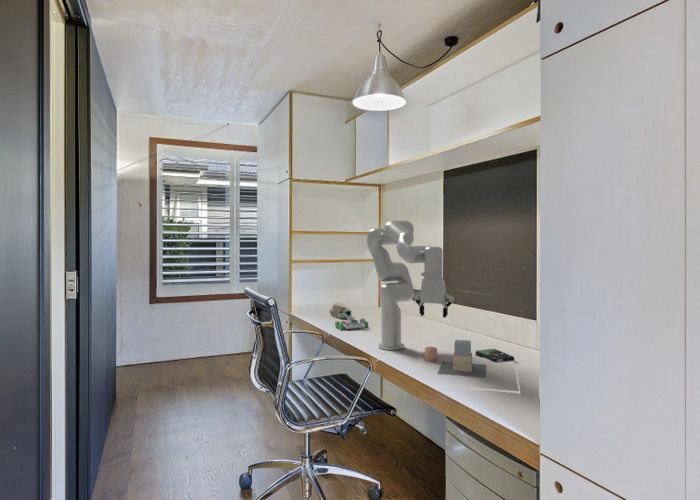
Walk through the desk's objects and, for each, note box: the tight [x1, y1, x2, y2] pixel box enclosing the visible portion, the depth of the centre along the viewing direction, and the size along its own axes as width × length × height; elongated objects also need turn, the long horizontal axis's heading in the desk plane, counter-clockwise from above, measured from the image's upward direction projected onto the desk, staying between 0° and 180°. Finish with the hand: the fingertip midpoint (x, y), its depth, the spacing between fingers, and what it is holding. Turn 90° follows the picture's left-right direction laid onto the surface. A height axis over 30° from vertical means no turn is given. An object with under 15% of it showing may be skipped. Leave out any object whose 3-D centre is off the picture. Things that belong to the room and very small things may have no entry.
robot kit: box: [334, 309, 369, 331], centre depth 268 cm, size 19×25×9 cm
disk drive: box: [475, 348, 515, 363], centre depth 195 cm, size 10×3×15 cm
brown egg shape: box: [424, 346, 438, 363], centre depth 190 cm, size 5×5×6 cm
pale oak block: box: [452, 352, 473, 372], centre depth 177 cm, size 7×7×6 cm
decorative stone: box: [329, 301, 350, 319], centre depth 298 cm, size 20×8×10 cm, turn 30°
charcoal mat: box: [436, 360, 488, 379], centre depth 177 cm, size 18×18×1 cm
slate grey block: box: [453, 339, 472, 357], centre depth 176 cm, size 6×6×5 cm
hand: (433, 316), depth 186 cm, fingers open, 9 cm apart
